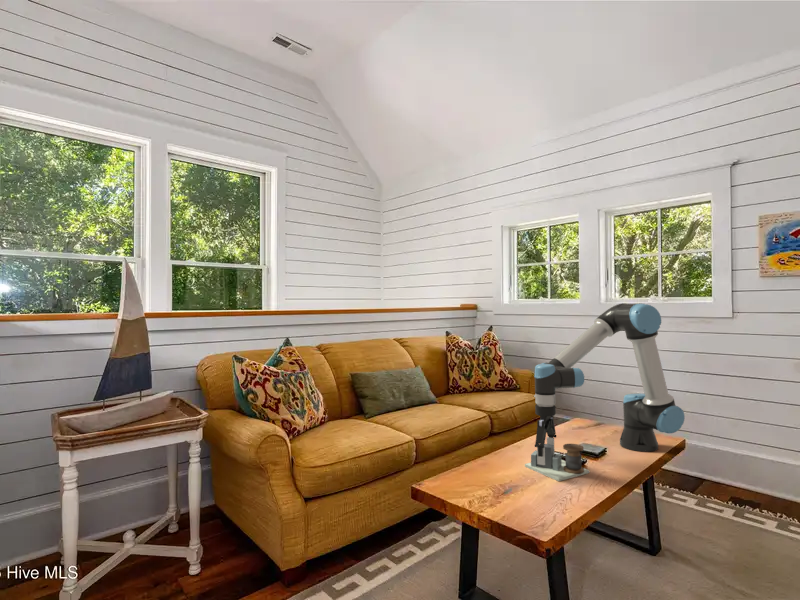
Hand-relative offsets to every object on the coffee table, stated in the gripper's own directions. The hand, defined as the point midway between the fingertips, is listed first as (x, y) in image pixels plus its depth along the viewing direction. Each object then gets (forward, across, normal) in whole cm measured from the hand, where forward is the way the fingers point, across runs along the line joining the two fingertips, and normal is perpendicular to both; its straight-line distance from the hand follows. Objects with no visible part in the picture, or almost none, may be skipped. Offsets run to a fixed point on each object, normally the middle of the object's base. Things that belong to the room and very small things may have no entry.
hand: (546, 459), depth 185 cm
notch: (+4, 0, 0) cm, 4 cm away
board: (+4, -1, +4) cm, 5 cm away
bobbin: (+4, 0, +10) cm, 11 cm away
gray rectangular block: (+3, 0, 0) cm, 3 cm away
